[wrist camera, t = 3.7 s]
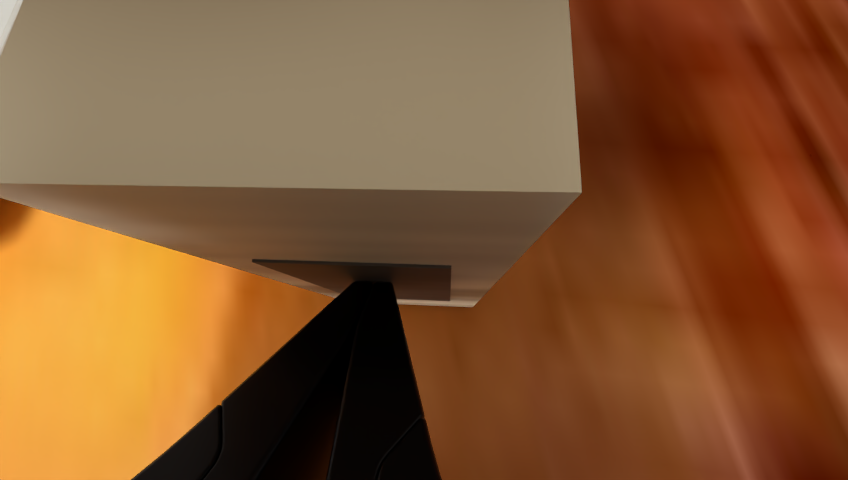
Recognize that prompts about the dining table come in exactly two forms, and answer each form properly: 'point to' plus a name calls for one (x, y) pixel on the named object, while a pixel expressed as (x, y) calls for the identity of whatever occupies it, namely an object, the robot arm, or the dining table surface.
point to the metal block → (301, 133)
